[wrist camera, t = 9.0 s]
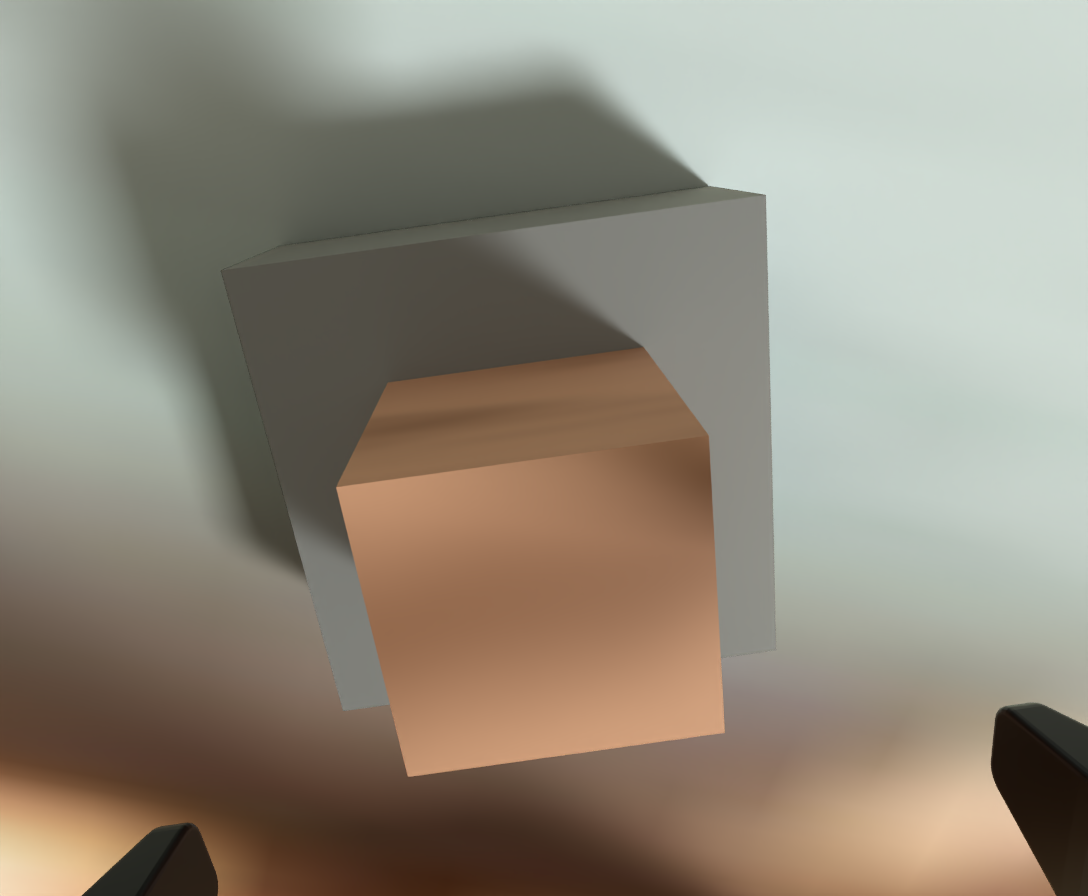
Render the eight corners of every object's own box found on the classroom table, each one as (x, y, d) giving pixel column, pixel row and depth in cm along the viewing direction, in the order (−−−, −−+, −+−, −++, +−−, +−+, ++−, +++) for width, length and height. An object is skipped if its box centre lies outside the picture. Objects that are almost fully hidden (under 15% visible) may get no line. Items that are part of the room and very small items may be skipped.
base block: (728, 563, 21) (776, 650, 18) (370, 613, 21) (343, 711, 18) (709, 186, 18) (766, 194, 14) (279, 245, 18) (220, 270, 14)
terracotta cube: (661, 570, 17) (724, 733, 12) (434, 602, 17) (408, 776, 12) (643, 347, 15) (708, 435, 10) (387, 382, 15) (335, 487, 10)
